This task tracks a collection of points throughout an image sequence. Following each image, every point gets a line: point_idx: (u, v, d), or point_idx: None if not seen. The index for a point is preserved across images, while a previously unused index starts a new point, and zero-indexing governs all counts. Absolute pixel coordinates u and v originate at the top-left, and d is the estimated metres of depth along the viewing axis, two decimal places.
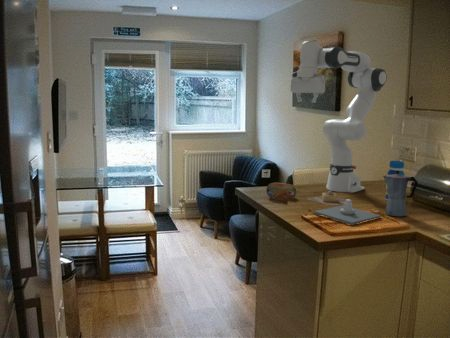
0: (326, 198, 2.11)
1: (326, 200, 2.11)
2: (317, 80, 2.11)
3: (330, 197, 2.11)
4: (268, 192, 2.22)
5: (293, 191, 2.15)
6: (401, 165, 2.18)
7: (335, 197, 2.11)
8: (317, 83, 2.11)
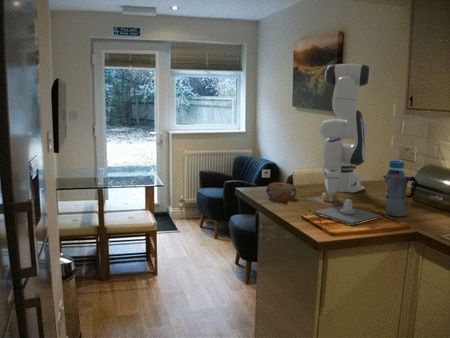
0: (326, 198, 2.11)
1: (326, 200, 2.11)
2: None
3: None
4: (268, 192, 2.22)
5: (293, 191, 2.15)
6: (401, 165, 2.18)
7: (335, 197, 2.11)
8: None
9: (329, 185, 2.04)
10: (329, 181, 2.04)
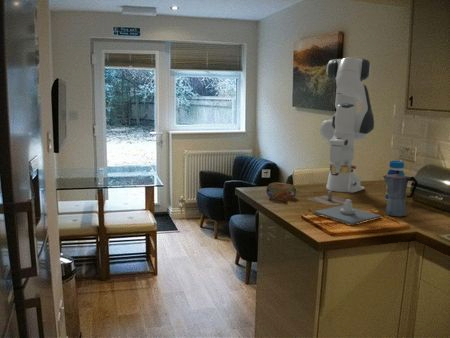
0: (335, 169, 1.96)
1: (335, 171, 1.96)
2: (353, 146, 2.01)
3: None
4: (268, 192, 2.22)
5: (293, 191, 2.15)
6: (401, 165, 2.18)
7: (344, 168, 1.94)
8: (353, 149, 2.02)
9: (331, 153, 1.90)
10: (331, 149, 1.90)
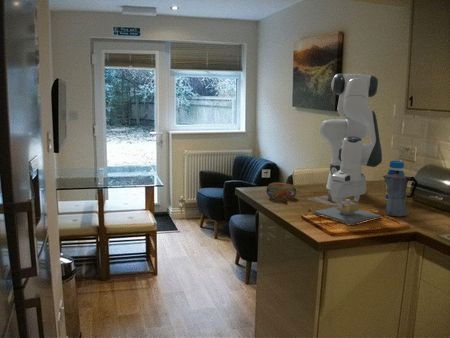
0: None
1: (339, 208, 1.91)
2: (364, 181, 1.92)
3: None
4: (268, 192, 2.22)
5: (293, 191, 2.15)
6: (401, 165, 2.18)
7: (347, 206, 1.87)
8: (364, 184, 1.93)
9: (331, 188, 1.85)
10: (332, 184, 1.85)
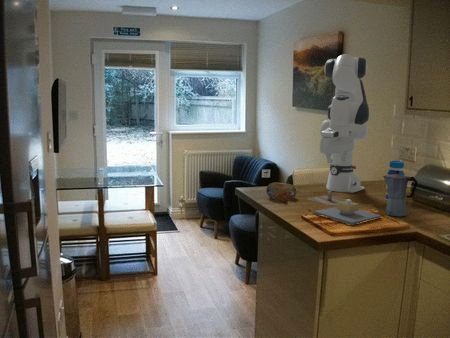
0: (339, 206, 1.91)
1: (339, 208, 1.91)
2: (352, 138, 2.03)
3: (343, 206, 1.89)
4: (268, 192, 2.22)
5: (293, 191, 2.15)
6: (401, 165, 2.18)
7: (347, 206, 1.87)
8: (352, 141, 2.04)
9: (321, 144, 1.96)
10: (321, 140, 1.96)
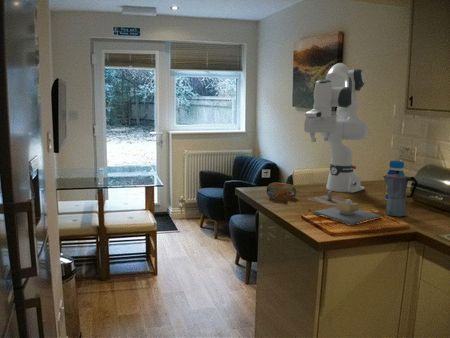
0: (339, 206, 1.91)
1: (339, 208, 1.91)
2: (334, 119, 2.20)
3: (343, 206, 1.89)
4: (268, 192, 2.22)
5: (293, 191, 2.15)
6: (401, 165, 2.18)
7: (347, 206, 1.87)
8: (334, 122, 2.21)
9: (305, 124, 2.13)
10: (305, 120, 2.13)
